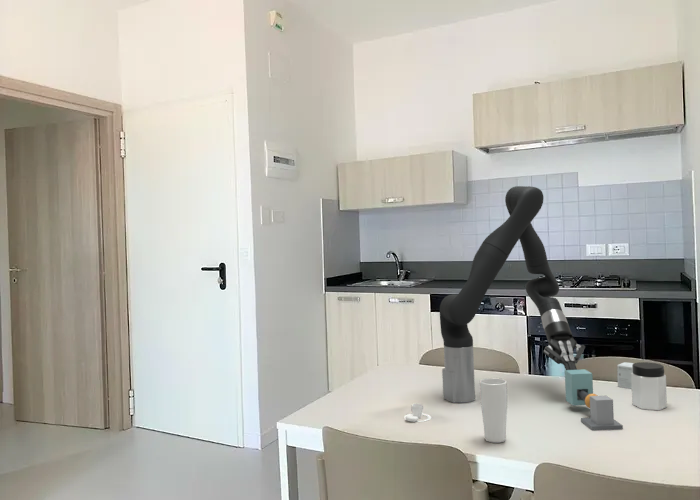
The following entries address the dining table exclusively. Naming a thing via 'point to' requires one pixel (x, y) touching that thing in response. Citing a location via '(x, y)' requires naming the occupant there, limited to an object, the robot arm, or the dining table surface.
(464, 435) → the dining table surface
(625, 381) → the skincare box
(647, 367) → the jar
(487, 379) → the drinking glass
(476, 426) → the dining table surface
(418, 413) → the teacup and saucer
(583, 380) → the teal block with hole
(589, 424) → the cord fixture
